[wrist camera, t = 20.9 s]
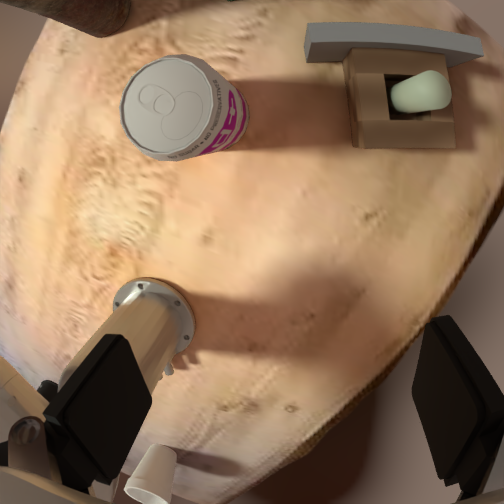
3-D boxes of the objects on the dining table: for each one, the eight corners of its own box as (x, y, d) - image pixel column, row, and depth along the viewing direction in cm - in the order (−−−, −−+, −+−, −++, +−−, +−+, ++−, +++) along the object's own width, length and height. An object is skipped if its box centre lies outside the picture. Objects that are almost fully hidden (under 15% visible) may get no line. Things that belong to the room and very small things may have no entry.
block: (432, 145, 31) (455, 148, 25) (352, 146, 32) (365, 148, 27) (422, 64, 28) (444, 53, 22) (342, 61, 29) (351, 47, 24)
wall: (450, 67, 27) (484, 55, 20) (306, 62, 30) (311, 42, 22) (447, 52, 26) (480, 38, 19) (303, 46, 29) (307, 23, 22)
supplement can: (264, 106, 32) (247, 83, 18) (222, 165, 35) (178, 185, 21) (205, 69, 31) (152, 32, 17) (166, 128, 34) (95, 129, 20)
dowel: (410, 115, 28) (454, 110, 19) (383, 115, 29) (420, 108, 20) (406, 87, 27) (448, 72, 18) (379, 86, 28) (414, 69, 19)
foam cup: (177, 467, 59) (163, 511, 47) (140, 451, 58) (122, 494, 46) (188, 451, 55) (173, 500, 43) (147, 434, 55) (126, 481, 43)
